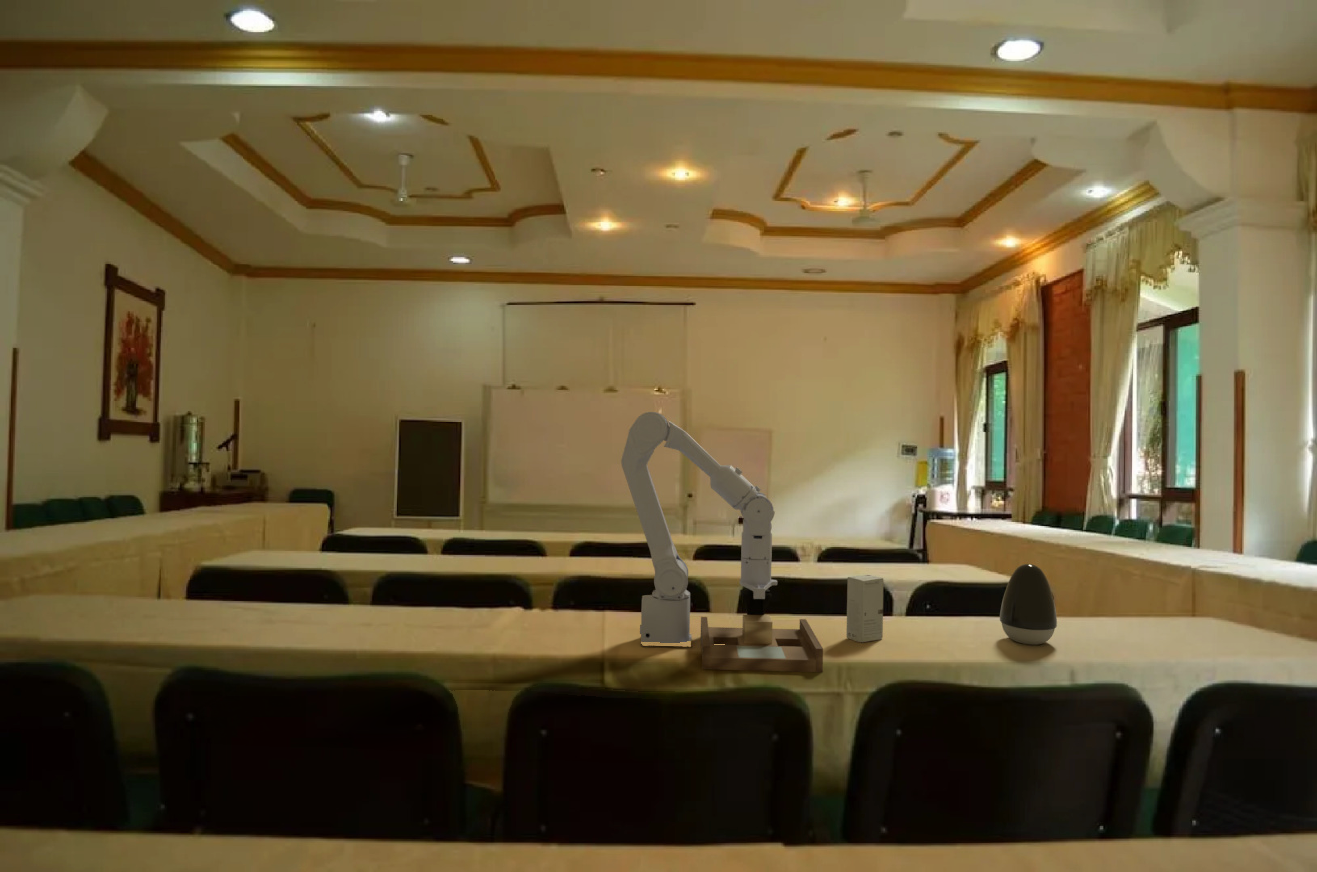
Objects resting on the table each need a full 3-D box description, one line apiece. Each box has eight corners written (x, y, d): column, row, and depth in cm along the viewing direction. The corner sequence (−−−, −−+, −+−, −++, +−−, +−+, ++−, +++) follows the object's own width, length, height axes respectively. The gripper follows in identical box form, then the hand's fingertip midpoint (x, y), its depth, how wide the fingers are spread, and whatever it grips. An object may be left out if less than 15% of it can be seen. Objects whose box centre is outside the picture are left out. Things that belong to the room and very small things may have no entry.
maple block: (744, 643, 148) (744, 621, 148) (742, 635, 153) (742, 614, 153) (772, 643, 148) (772, 622, 148) (769, 636, 153) (769, 615, 153)
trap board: (702, 668, 139) (702, 645, 139) (700, 637, 159) (700, 616, 159) (822, 672, 138) (823, 648, 138) (805, 639, 158) (805, 619, 158)
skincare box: (862, 643, 156) (863, 580, 156) (844, 638, 160) (846, 576, 160) (884, 639, 160) (885, 577, 159) (866, 633, 163) (867, 573, 163)
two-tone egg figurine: (1055, 637, 162) (1057, 562, 162) (1056, 651, 153) (1059, 570, 152) (1000, 631, 167) (1002, 557, 166) (998, 644, 157) (1000, 565, 157)
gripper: (782, 564, 147) (780, 639, 147) (773, 551, 161) (772, 619, 162) (743, 563, 147) (741, 638, 147) (737, 550, 161) (736, 618, 162)
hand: (755, 628), depth 154 cm, fingers closed
